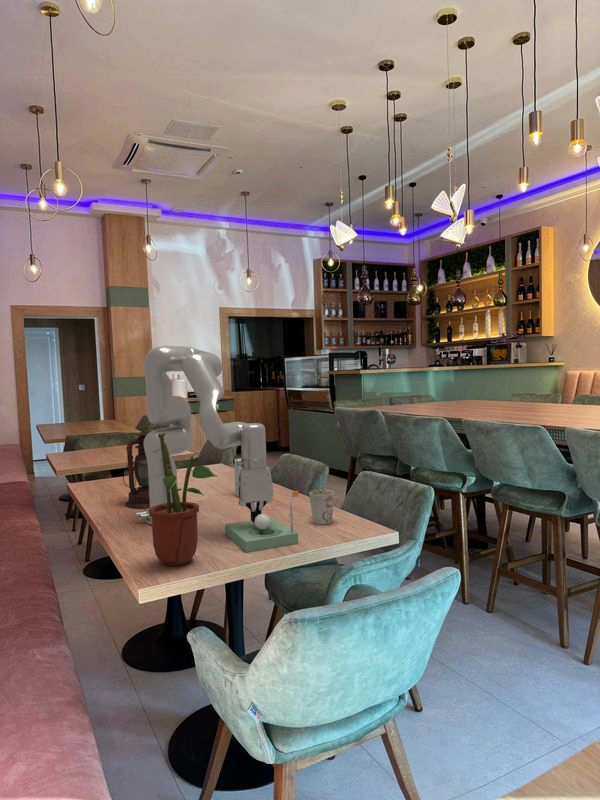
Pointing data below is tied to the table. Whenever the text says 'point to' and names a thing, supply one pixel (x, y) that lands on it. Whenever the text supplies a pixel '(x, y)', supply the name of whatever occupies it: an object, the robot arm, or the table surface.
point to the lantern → (138, 474)
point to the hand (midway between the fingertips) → (256, 522)
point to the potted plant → (176, 515)
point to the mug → (322, 506)
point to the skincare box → (237, 475)
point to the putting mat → (263, 533)
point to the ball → (262, 521)
